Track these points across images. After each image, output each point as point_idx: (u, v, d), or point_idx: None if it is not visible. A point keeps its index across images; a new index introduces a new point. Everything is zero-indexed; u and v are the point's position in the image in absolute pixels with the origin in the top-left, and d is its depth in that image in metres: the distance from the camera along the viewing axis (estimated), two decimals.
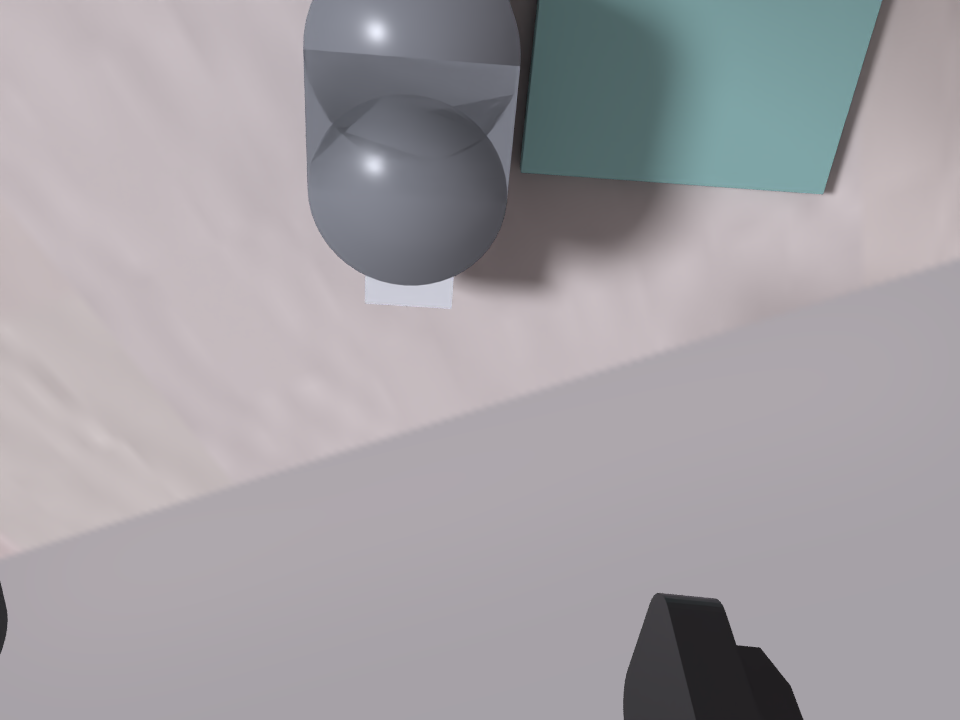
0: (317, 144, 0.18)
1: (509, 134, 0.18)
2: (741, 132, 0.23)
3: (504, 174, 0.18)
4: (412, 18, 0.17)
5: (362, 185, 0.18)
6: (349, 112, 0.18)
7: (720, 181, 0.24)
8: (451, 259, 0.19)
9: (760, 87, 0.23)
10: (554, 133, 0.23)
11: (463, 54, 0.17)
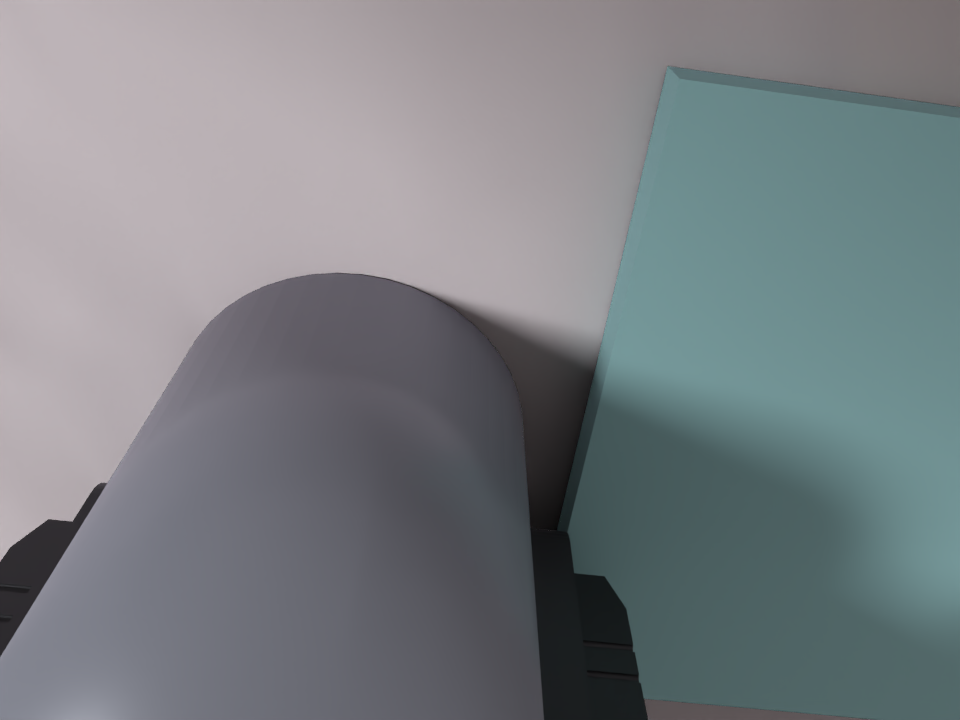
0: None
1: None
2: None
3: None
4: None
5: None
6: None
7: (903, 715, 0.13)
8: None
9: None
10: None
11: None
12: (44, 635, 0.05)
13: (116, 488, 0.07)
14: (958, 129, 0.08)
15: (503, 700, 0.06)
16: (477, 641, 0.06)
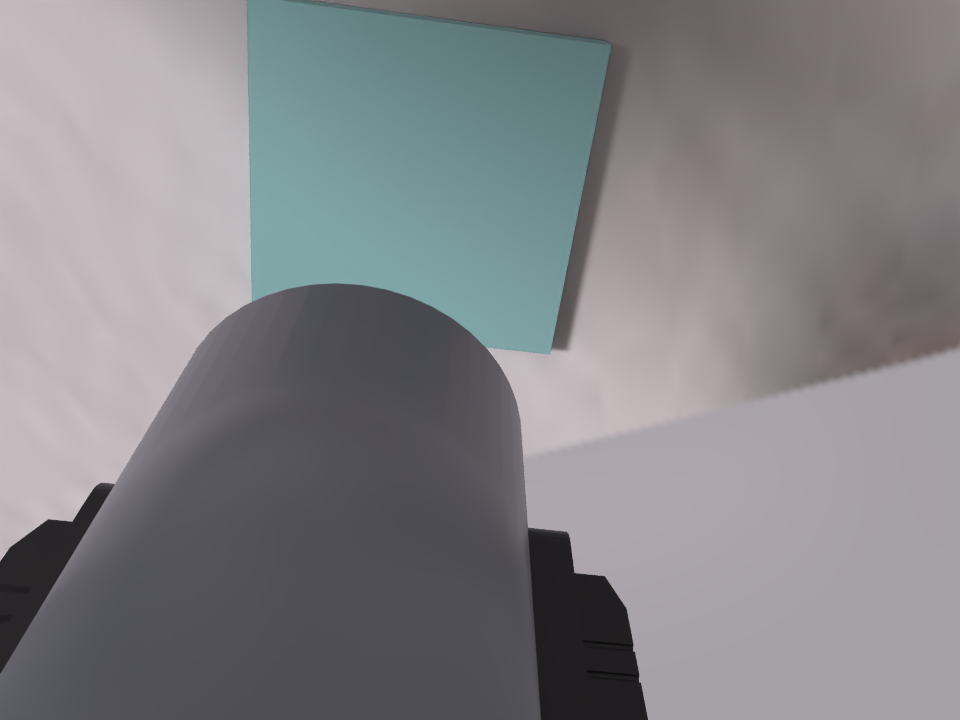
0: None
1: None
2: (462, 296, 0.24)
3: None
4: None
5: None
6: None
7: None
8: None
9: (475, 257, 0.23)
10: (280, 287, 0.24)
11: None
12: (48, 648, 0.06)
13: (118, 499, 0.07)
14: (363, 16, 0.20)
15: (502, 710, 0.06)
16: (474, 652, 0.06)
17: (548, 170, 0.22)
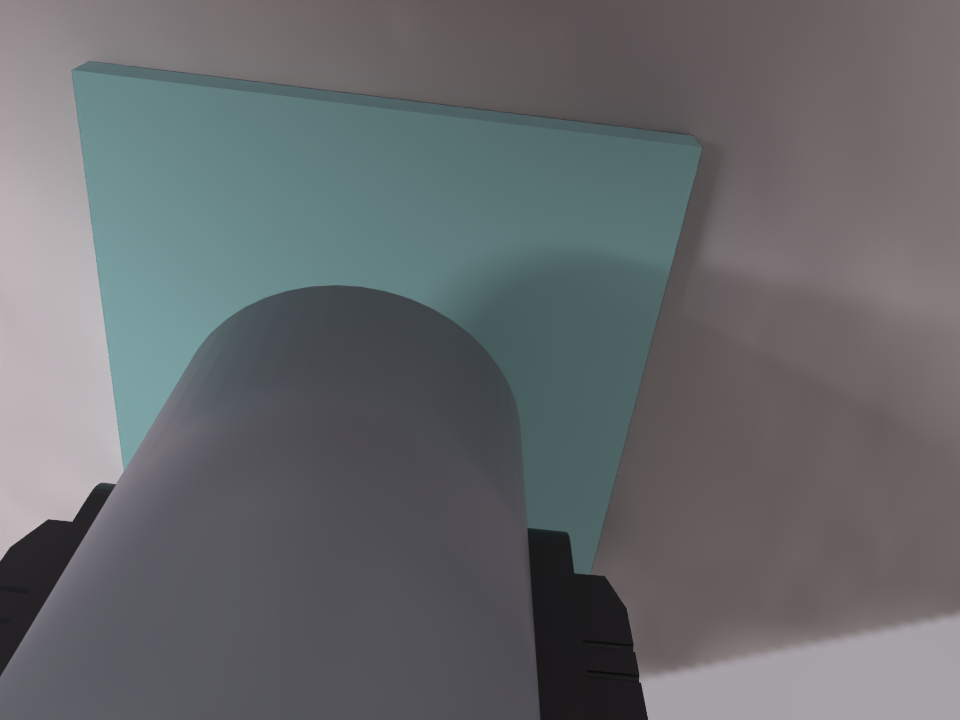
0: None
1: None
2: None
3: None
4: None
5: None
6: None
7: None
8: None
9: None
10: None
11: None
12: (50, 648, 0.06)
13: (119, 501, 0.07)
14: (277, 103, 0.12)
15: (500, 711, 0.06)
16: (474, 654, 0.06)
17: (590, 338, 0.14)
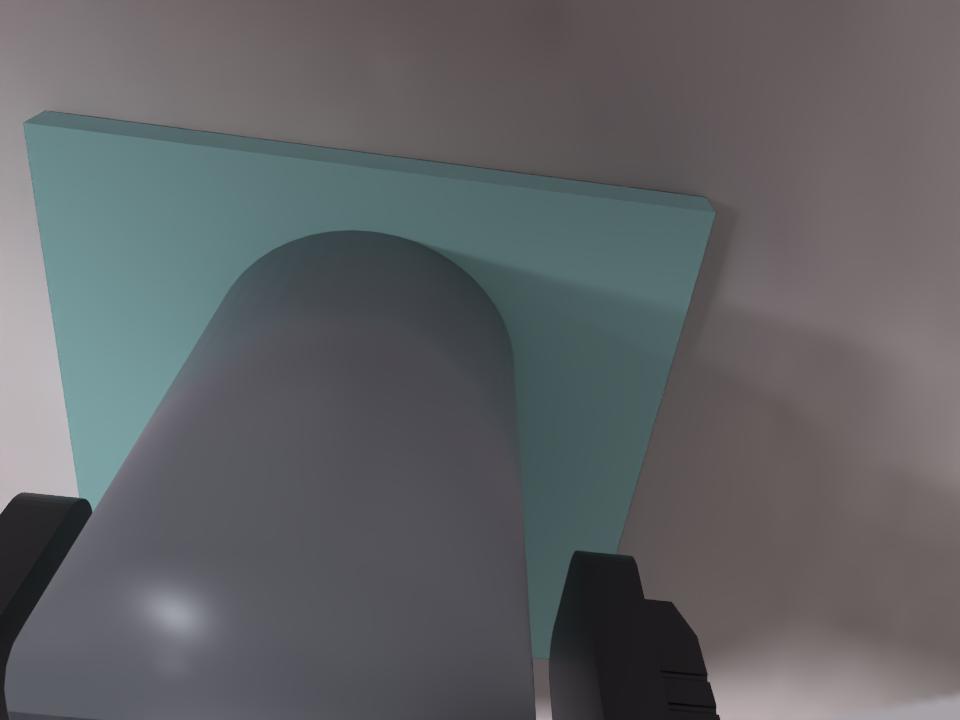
0: None
1: None
2: None
3: None
4: (274, 675, 0.07)
5: None
6: None
7: None
8: None
9: None
10: None
11: None
12: (132, 488, 0.07)
13: (176, 393, 0.08)
14: (249, 160, 0.11)
15: (493, 548, 0.07)
16: (472, 504, 0.07)
17: (591, 410, 0.13)
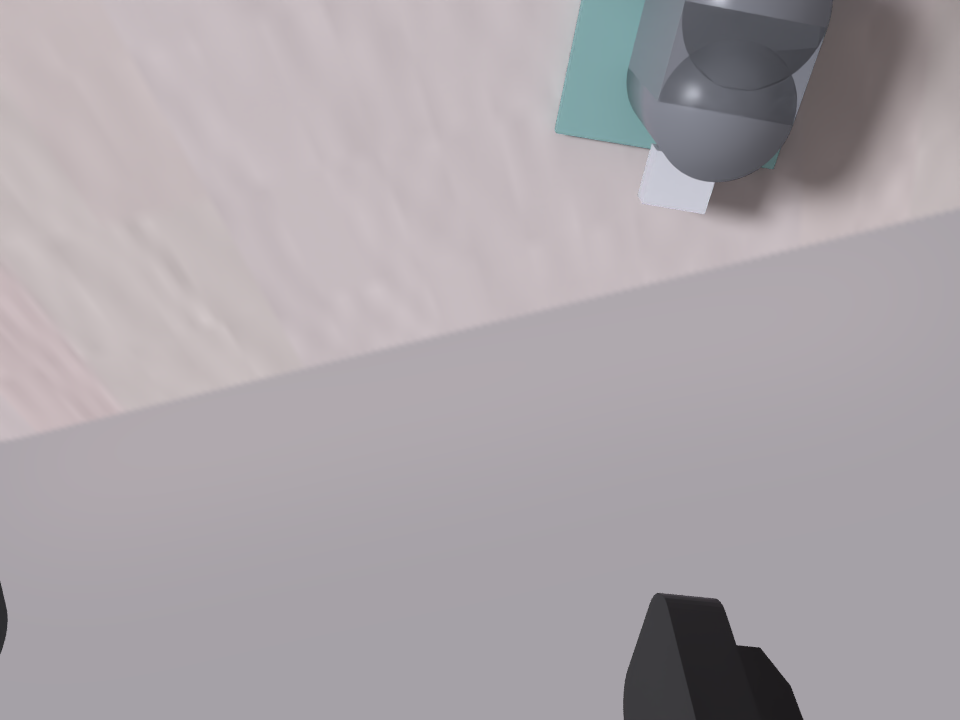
0: (674, 69, 0.26)
1: (807, 75, 0.26)
2: None
3: (796, 104, 0.26)
4: None
5: (696, 102, 0.26)
6: (703, 48, 0.25)
7: None
8: (743, 164, 0.27)
9: None
10: (583, 105, 0.32)
11: (791, 15, 0.25)
12: None
13: None
14: None
15: None
16: None
17: None
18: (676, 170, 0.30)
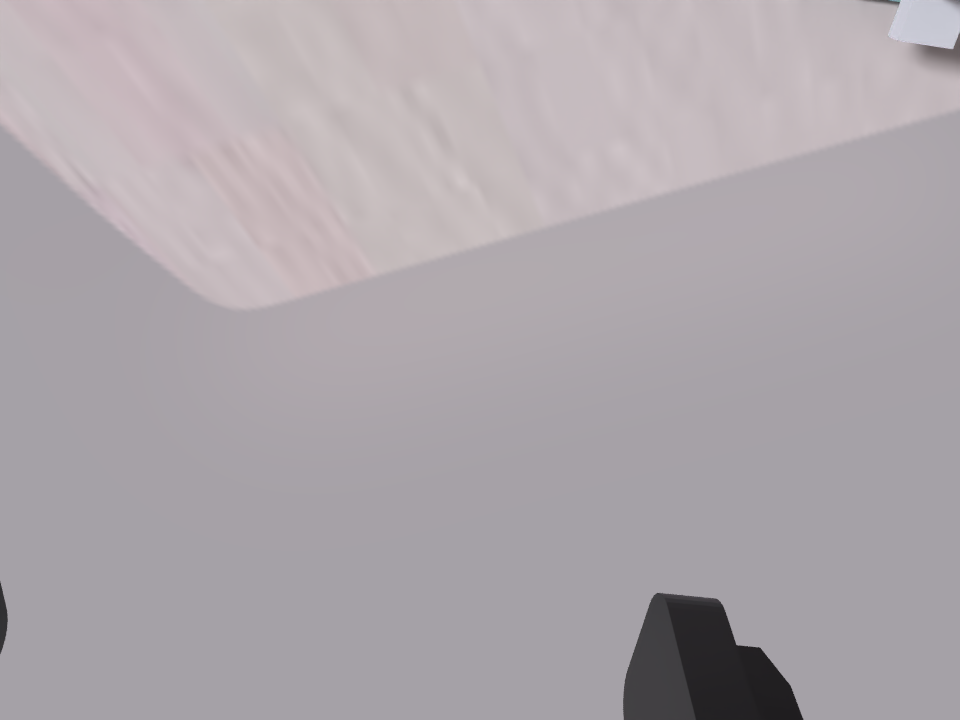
0: None
1: None
2: None
3: None
4: None
5: None
6: None
7: None
8: None
9: None
10: None
11: None
12: None
13: None
14: None
15: None
16: None
17: None
18: (932, 7, 0.33)
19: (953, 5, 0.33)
